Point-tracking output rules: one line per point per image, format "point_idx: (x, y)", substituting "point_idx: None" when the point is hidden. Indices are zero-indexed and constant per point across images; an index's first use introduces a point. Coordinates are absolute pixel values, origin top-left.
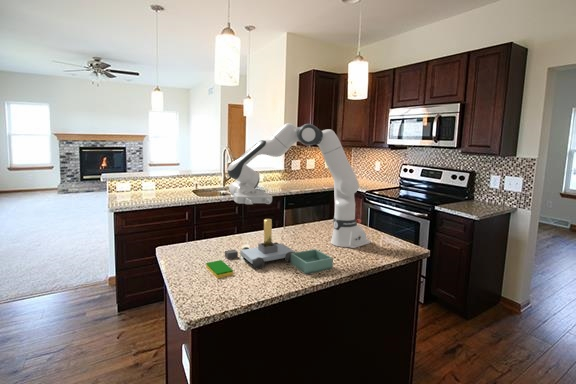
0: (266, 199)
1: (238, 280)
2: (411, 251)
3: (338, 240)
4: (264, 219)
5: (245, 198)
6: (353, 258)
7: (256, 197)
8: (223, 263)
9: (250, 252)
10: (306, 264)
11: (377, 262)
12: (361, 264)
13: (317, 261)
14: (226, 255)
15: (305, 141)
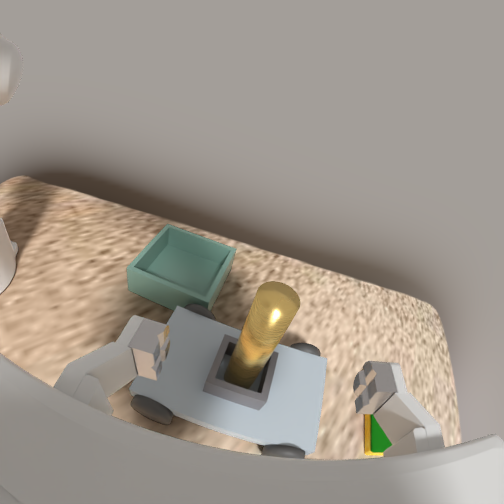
0: (98, 384)
1: (363, 347)
2: (20, 185)
3: (4, 265)
4: (291, 312)
5: (439, 434)
6: (83, 233)
7: (261, 456)
8: (376, 422)
9: (299, 407)
10: (235, 251)
11: (88, 204)
12: (111, 217)
13: (207, 238)
14: None
15: None
